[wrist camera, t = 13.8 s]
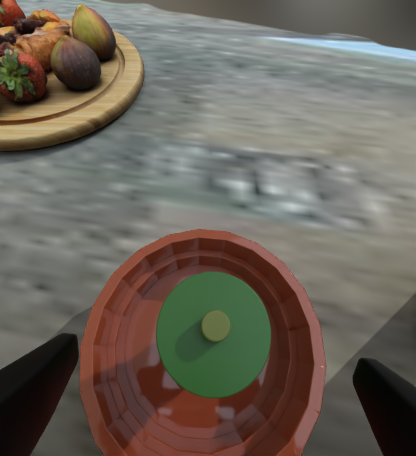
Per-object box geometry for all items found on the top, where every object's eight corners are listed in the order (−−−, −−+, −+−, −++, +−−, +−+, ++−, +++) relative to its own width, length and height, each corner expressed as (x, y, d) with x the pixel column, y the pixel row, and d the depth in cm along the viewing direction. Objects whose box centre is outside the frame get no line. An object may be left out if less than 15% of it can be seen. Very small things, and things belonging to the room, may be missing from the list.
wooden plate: (-56, 42, 40) (-113, -27, 32) (129, 26, 45) (116, -35, 38) (-112, 179, 26) (-234, 113, 18) (165, 131, 31) (155, 66, 24)
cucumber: (238, 336, 19) (301, 318, 8) (206, 381, 18) (227, 444, 6) (201, 302, 21) (208, 243, 9) (168, 342, 19) (124, 333, 7)
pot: (323, 327, 21) (363, 321, 16) (215, 528, 14) (224, 620, 10) (195, 226, 25) (195, 197, 20) (70, 350, 19) (26, 351, 14)
